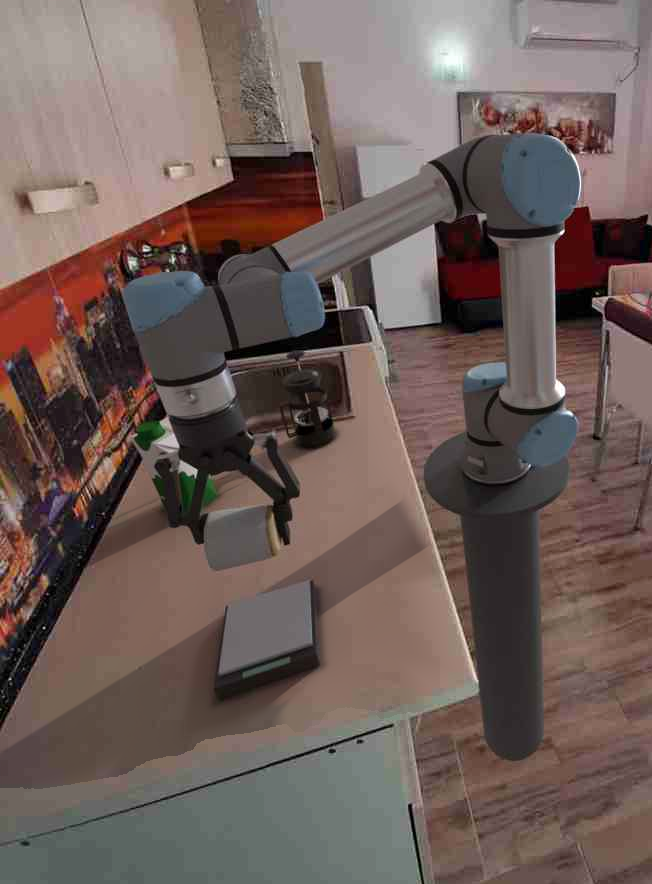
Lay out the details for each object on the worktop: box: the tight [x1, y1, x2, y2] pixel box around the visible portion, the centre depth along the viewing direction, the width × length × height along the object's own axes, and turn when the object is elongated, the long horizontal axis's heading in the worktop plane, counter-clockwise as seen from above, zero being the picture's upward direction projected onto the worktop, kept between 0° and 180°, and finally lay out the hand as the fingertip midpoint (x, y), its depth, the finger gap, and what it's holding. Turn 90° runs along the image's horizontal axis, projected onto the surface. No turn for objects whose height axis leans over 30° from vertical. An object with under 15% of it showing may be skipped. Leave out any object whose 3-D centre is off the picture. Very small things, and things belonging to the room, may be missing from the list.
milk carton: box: [129, 416, 219, 511], centre depth 101 cm, size 9×9×20 cm
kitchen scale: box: [213, 579, 321, 701], centre depth 75 cm, size 13×14×3 cm
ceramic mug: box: [203, 504, 282, 572], centre depth 69 cm, size 11×8×8 cm
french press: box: [278, 350, 337, 449], centre depth 121 cm, size 12×9×23 cm
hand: (253, 547), depth 71 cm, fingers closed on ceramic mug, 8 cm apart
